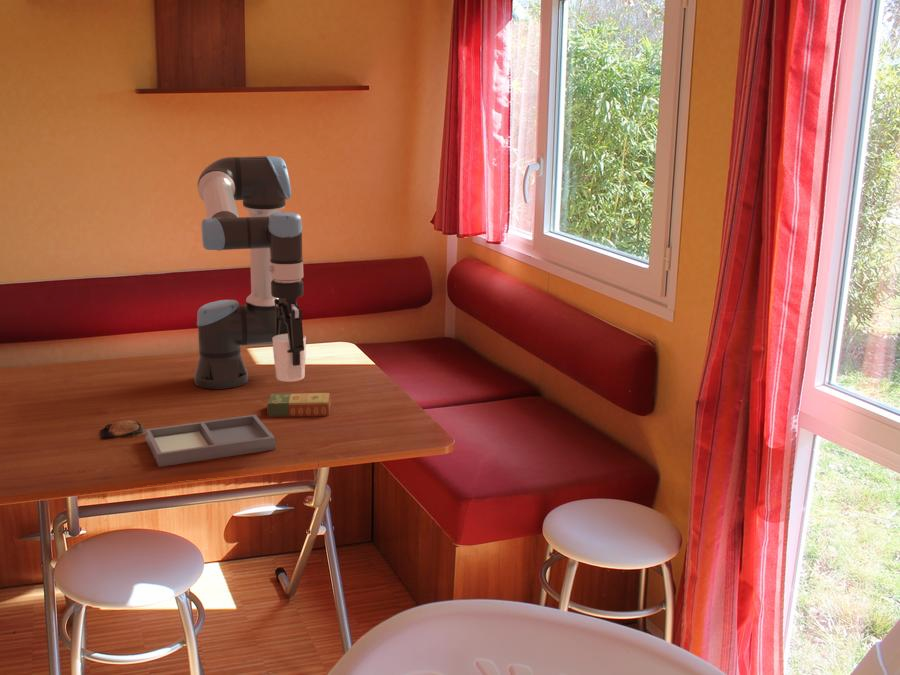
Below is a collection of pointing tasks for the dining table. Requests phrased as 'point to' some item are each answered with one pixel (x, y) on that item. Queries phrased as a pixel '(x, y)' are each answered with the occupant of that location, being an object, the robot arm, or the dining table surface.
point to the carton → (299, 404)
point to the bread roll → (122, 430)
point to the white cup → (285, 357)
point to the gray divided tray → (208, 440)
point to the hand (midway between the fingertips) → (290, 372)
